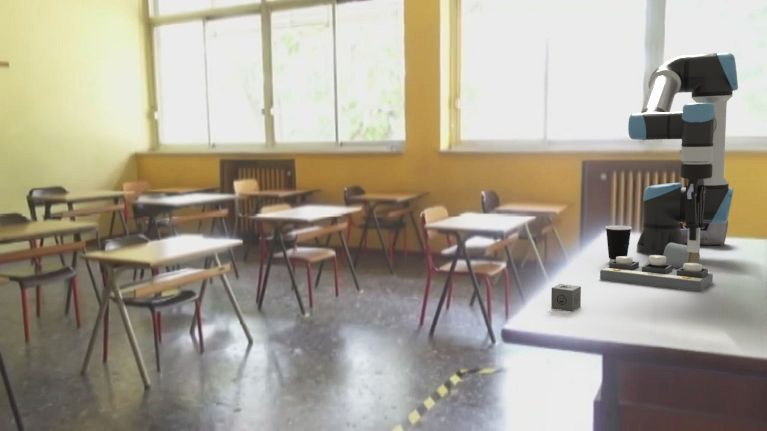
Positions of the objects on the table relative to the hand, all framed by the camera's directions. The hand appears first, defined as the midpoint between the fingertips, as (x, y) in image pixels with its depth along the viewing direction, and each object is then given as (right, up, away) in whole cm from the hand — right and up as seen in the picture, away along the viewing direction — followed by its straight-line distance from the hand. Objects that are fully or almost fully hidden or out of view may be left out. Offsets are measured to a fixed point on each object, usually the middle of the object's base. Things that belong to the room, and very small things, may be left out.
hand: (693, 251), depth 171 cm
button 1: (-14, -4, +12) cm, 19 cm away
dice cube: (-40, -12, -20) cm, 46 cm away
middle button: (-7, -4, +6) cm, 10 cm away
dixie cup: (-8, -5, +33) cm, 35 cm away
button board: (-8, -8, +5) cm, 13 cm away
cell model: (+32, -1, +64) cm, 71 cm away
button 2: (0, -5, 0) cm, 5 cm away
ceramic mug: (+7, -6, +21) cm, 23 cm away
